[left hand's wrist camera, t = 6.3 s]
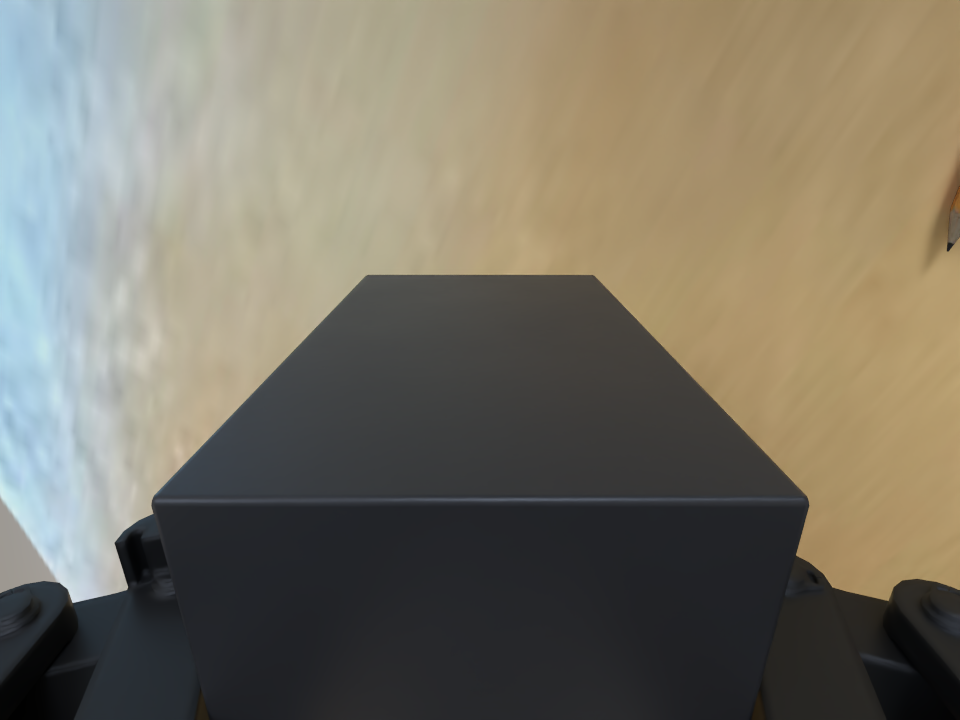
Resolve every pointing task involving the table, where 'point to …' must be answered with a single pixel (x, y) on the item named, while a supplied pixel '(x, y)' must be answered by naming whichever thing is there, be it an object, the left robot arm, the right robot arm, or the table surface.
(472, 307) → the bar
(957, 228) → the pencil
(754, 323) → the table surface
